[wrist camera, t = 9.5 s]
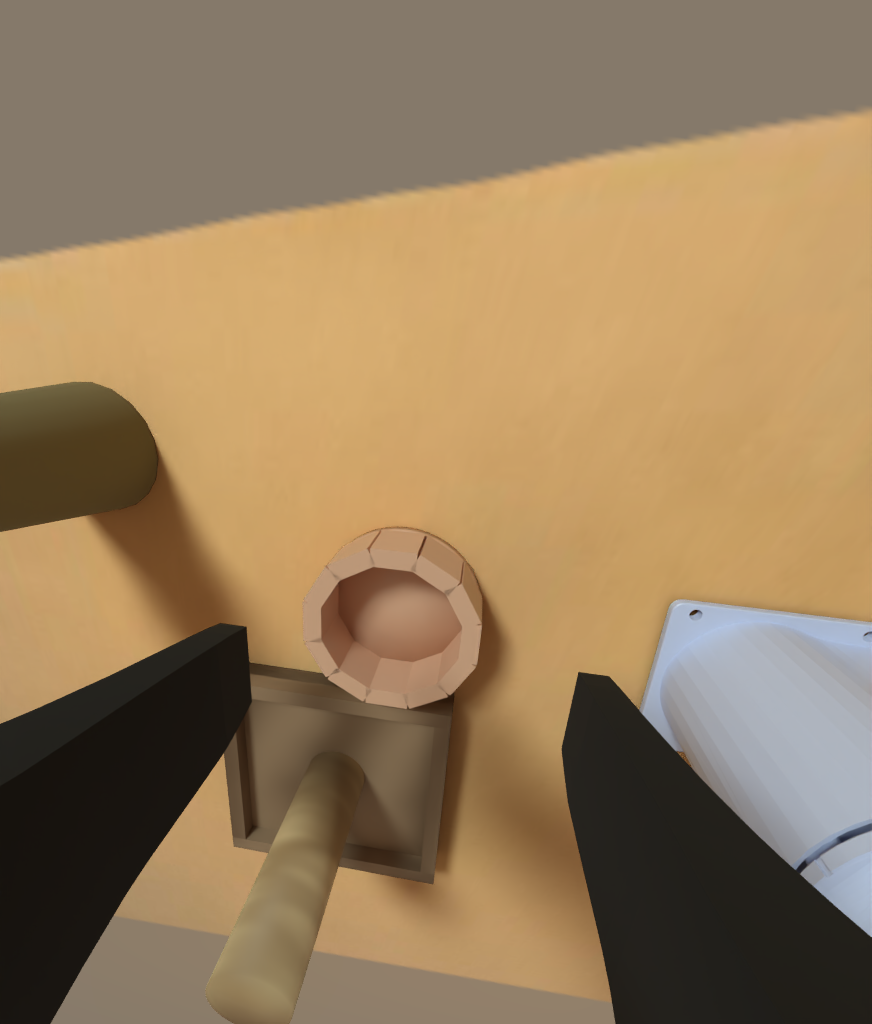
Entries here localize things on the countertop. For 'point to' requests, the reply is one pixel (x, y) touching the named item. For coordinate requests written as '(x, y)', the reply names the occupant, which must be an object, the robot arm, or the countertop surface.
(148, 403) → the countertop surface
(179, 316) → the countertop surface
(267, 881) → the dowel pin
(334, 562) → the pink round piece
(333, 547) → the countertop surface
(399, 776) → the walnut tray
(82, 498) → the olive green pawn
